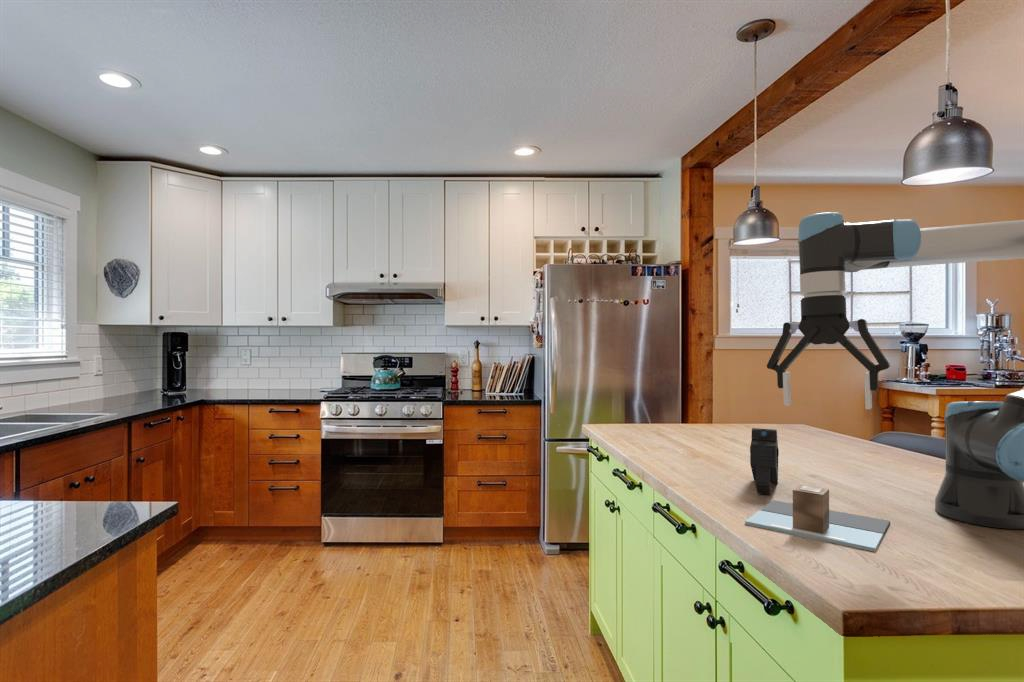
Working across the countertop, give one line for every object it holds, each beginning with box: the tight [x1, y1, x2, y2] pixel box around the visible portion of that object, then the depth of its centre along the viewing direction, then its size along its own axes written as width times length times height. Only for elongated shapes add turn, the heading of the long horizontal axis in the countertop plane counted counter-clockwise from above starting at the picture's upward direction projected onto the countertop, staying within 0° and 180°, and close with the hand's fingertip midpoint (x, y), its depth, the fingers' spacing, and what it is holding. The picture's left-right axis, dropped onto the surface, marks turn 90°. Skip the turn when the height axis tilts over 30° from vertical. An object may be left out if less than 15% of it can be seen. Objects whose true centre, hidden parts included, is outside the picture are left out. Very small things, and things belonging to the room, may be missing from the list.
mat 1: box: [760, 499, 891, 537], centre depth 108 cm, size 21×9×1 cm, turn 49°
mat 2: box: [744, 509, 884, 553], centre depth 101 cm, size 21×9×1 cm, turn 49°
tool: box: [749, 427, 780, 495], centre depth 132 cm, size 6×19×15 cm, turn 152°
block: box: [792, 484, 830, 534], centre depth 101 cm, size 5×5×7 cm
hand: (826, 406), depth 104 cm, fingers open, 13 cm apart
